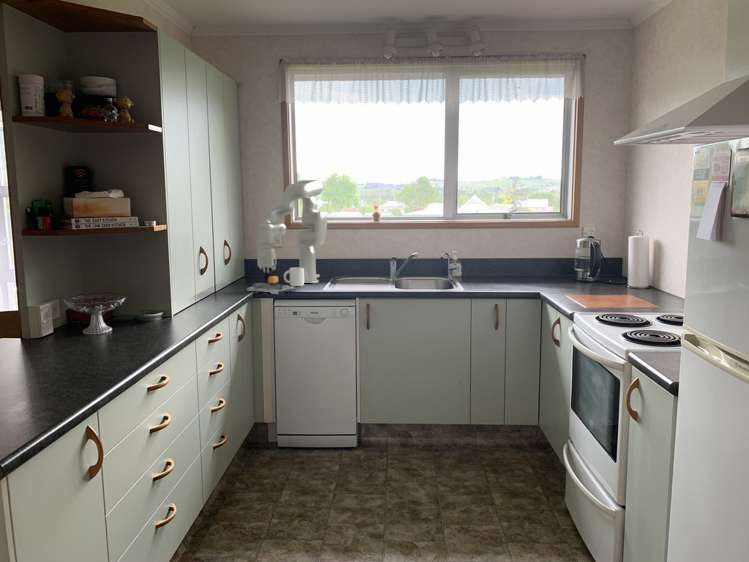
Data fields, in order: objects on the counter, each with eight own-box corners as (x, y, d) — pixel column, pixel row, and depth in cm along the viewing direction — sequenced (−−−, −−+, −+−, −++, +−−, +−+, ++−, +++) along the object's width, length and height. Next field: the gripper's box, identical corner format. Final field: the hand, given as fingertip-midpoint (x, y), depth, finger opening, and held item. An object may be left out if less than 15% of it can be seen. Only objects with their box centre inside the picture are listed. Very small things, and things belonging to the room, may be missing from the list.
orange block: (273, 286, 331) (272, 276, 331) (278, 286, 330) (278, 276, 329) (268, 287, 328) (268, 277, 327) (273, 288, 326) (273, 277, 325)
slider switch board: (263, 287, 341) (263, 281, 341) (294, 290, 331) (293, 284, 331) (247, 291, 329) (247, 285, 328) (278, 294, 319) (278, 287, 318)
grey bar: (294, 290, 331) (294, 288, 330) (296, 290, 330) (296, 288, 330) (279, 294, 319) (279, 291, 319) (281, 294, 318) (281, 291, 318)
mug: (282, 287, 344) (281, 269, 342) (285, 284, 352) (285, 267, 350) (302, 287, 342) (302, 269, 341) (306, 284, 350) (305, 267, 349)
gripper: (251, 246, 328) (252, 280, 330) (273, 247, 320) (274, 281, 323) (260, 245, 334) (261, 278, 337) (282, 246, 327) (283, 279, 330)
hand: (268, 279), depth 330 cm, fingers closed
